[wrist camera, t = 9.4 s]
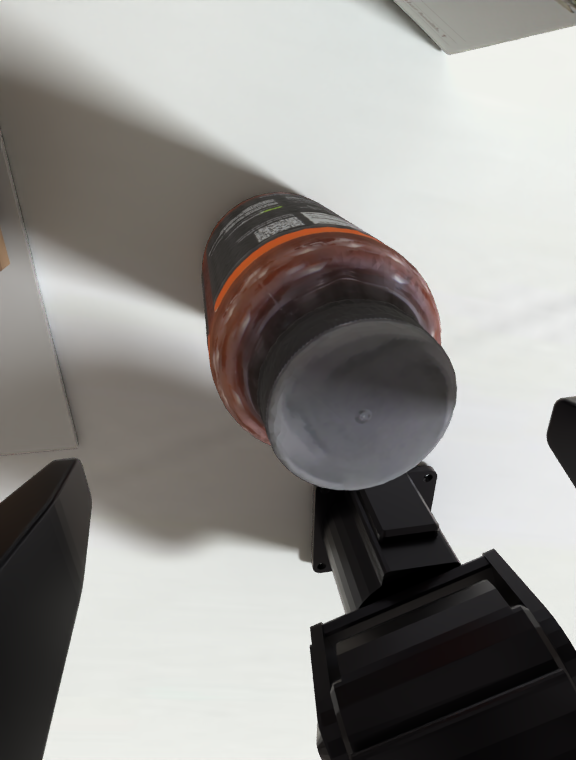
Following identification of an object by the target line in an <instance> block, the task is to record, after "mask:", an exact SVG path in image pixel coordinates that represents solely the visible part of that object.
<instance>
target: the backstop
mask: <svg viewBox="0 0 576 760" xmlns="http://www.w3.org/2000/svg"><path fill="white" fill-rule="evenodd" d="M0 228H1V231H2V235H3V239H4V242H5V246H6V250H7V254H8V257H9V261H10V264H9V265H8V266H7V267H6V268H4V269H3V270H2V271H1V272H0V456H2V455H13V454H23V453H34V452H44V451H54V450H65V449H75V448H77V447H78V441H77V437H76V433H75V429H74V425H73V421H72V416H71V412H70V408H69V404H68V400H67V396H66V392H65V388H64V384H63V380H62V376H61V372H60V368H59V364H58V360H57V356H56V352H55V348H54V344H53V340H52V336H51V332H50V328H49V324H48V320H47V315H46V311H45V307H44V303H43V299H42V295H41V291H40V287H39V283H38V279H37V275H36V271H35V267H34V263H33V259H32V255H31V251H30V247H29V243H28V239H27V235H26V231H25V227H24V223H23V219H22V214H21V210H20V206H19V202H18V198H17V194H16V190H15V186H14V182H13V178H12V174H11V170H10V166H9V162H8V158H7V154H6V150H5V146H4V142H3V138H2V134H1V130H0Z"/></svg>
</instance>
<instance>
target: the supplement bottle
mask: <svg viewBox="0 0 576 760" xmlns="http://www.w3.org/2000/svg"><path fill="white" fill-rule="evenodd" d="M202 287H203V297H204V308H205V319H206V331H207V332H206V334H207V345H208V351H209V359H210V367H211V372H212V377H213V380H214V383H215V386H216V388H217V391H218V393H219V395H220V398H221V400H222V401H223V403H224V405H225V407H226V409H227V410H228V411H229V413H230V414H231V415H232V417H233V418H234V419H235V420H236V421H237V422H238V423H239V424H240V425H241V426H242V428H243V429H244V430H246V431H248V432H249V433H250V434H251V435H253V436H254V437H255V438H257V439H259V440H260V441H262V442H264V443H267V444H269V445H270V446H272V448H273V451H274V453H275V454H276V456H277V458H278V459H279V460H280V461H281V462H282V464H283V465H284V466H285V467H286V468H287V469H288V470H290V471H291V472H292V473H293V474H295V475H296V476H297V477H299V478H300V479H302V480H305V481H307V482H308V483H311V484H314V485H316V486H319V487H323V488H329V489H334V490H359V489H365V488H369V487H373V486H377V485H381V484H384V483H386V482H388V481H390V480H393V479H395V478H397V477H399V476H401V475H403V474H404V473H406V472H407V471H409V470H410V469H412V468H414V467H415V466H416V465H418V464H419V463H420V462H421V461H422V460H423V459H424V458H425V457H426V456H427V455H428V454H429V453H430V452H431V451H432V450H433V449H434V447H435V446H436V445H437V443H438V442H439V441H440V439H441V438H442V437H443V435H444V433H445V431H446V429H447V427H448V425H449V423H450V420H451V417H452V414H453V410H454V407H455V404H456V392H457V386H456V377H455V372H454V369H453V366H452V364H451V362H450V359H449V357H448V356H447V354H446V353H445V351H444V349H443V348H442V346H441V327H440V318H439V313H438V310H437V307H436V304H435V301H434V298H433V296H432V294H431V291H430V289H429V287H428V285H427V283H426V282H425V280H424V279H423V278H422V276H421V275H420V273H419V272H418V271H417V269H416V268H415V267H414V266H413V265H411V264H410V263H409V262H408V261H407V260H406V259H405V258H404V257H403V256H401V255H400V254H399V253H397V252H396V251H395V250H393V249H392V248H390V247H388V246H387V245H385V244H384V243H382V242H381V241H379V240H378V239H376V238H374V237H373V236H371V235H370V234H368V233H366V232H364V231H363V230H361V229H360V228H358V227H357V226H355V225H353V224H352V223H350V222H348V221H347V220H345V219H343V218H342V217H340V216H339V215H337V214H335V213H334V212H332V211H331V210H329V209H327V208H326V207H324V206H323V205H321V204H319V203H317V202H315V201H313V200H311V199H309V198H306V197H304V196H300V195H296V194H291V193H283V192H275V193H267V194H262V195H258V196H255V197H253V198H250V199H247V200H245V201H243V202H241V203H240V204H238V205H237V206H236V207H234V208H233V209H231V210H230V211H229V212H228V213H227V214H226V215H225V216H224V217H223V218H222V219H221V220H220V221H219V222H218V224H217V225H216V227H215V228H214V230H213V232H212V234H211V236H210V238H209V240H208V242H207V245H206V248H205V252H204V256H203V263H202Z"/></svg>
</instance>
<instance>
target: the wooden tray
mask: <svg viewBox="0 0 576 760" xmlns="http://www.w3.org/2000/svg"><path fill="white" fill-rule="evenodd" d="M9 264H10V261H9V257H8V254H7V250H6V246H5V242H4V239H3V235H2V231H1V228H0V272H1V271H2V270H3V269H4V268H6V267H7V266H8V265H9Z"/></svg>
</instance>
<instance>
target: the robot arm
mask: <svg viewBox="0 0 576 760" xmlns="http://www.w3.org/2000/svg"><path fill="white" fill-rule="evenodd" d="M547 442H548V445H549V447H550V448H551V450H552V451H553V453H554V455H555V456H556V458H557V459H558V461H559V463H560V464H561V466H562V467H563V469H564V470H565V472H566V474H567V475H568V477H569V478H570V480H571V481H572V483H573V485H574V486H575V488H576V396H574V397H566V398H560V399H559V400H557V401H556V403H555V404H554V407H553V411H552V414H551V418H550V422H549V426H548V430H547ZM428 474H429V475H428ZM426 475H428V476H426ZM424 476H426V477H424ZM436 480H437V474H436V472H435V471H434V469H433V468H432V467H431V466H419V467H414V468H412V469H410V470H409V471H407V472H406V473H404V474H403V475H401V476H399V477H397V478H395V479H393V480H390V481H388V482H386V483H384V484H381V485H377V486H373V487H369V488H365V489H359V490H334V489H329V488H324V489H321V488H322V487H319V486H316V485H314V495H313V526H312V557H311V563H312V567H313V570H314V571H315V572H317V573H323V572H330V571H333V575H334V578H335V581H336V584H337V588H338V591H339V594H340V597H341V601H342V604H343V607H344V610H345V615H343V616H340V617H338V618H336V619H333V620H331V621H329V622H326V623H324V624H323V623H322V622H321V623H318V624H316V625H314V626H311V627H310V631H311V640H312V645H310V654H311V663H312V673H313V682H314V692H315V701H316V711H317V720H318V723H317V748H318V752H319V755H320V757H321V759H322V760H576V650H575V649H574V647H573V645H572V644H571V642H570V641H569V639H568V637H567V636H566V634H565V633H564V631H563V630H562V628H561V627H560V626H559V624H558V623H557V621H556V620H555V619H554V617H553V616H552V615H551V613H550V612H549V611H548V610H547V609H546V607H545V606H544V605H543V604H542V603H541V602H540V600H539V599H538V598H537V597H536V596H535V595H534V594H533V593H532V591H531V590H530V589H529V588H528V587H527V586H526V585H525V583H524V582H523V581H522V580H521V579H520V578H519V577H518V575H517V574H516V573H515V572H514V571H513V570H512V569H511V567H510V566H509V565H508V564H507V563H506V562H505V561H504V560H503V558H502V557H501V556H500V555H499V554H498V553H497V552H496V550H495V549H492V550H490V551H487V552H485V553H483V554H482V556H481V557H479V558H476V559H474V560H472V561H469V562H467V563H465V564H462V565H461V563H460V562H459V560H458V558H457V557H456V555H455V553H454V552H453V550H452V548H451V547H450V545H449V543H448V542H447V540H446V538H445V537H444V535H443V533H442V532H441V530H440V528H439V524H438V523H437V521H436V519H435V518H434V516H433V514H432V513H431V507H432V502H433V496H434V491H435V485H436ZM91 510H92V499H91V494H90V490H89V487H88V483H87V480H86V476H85V473H84V469H83V466H82V463H81V461H80V460H79V459H77V458H68V459H60V460H54V461H52V462H51V463H49V464H48V465H47V466H46V467H44V468H43V469H42V470H41V471H39V472H38V473H37V474H36V475H34V476H33V477H32V478H31V479H29V480H28V481H27V482H26V483H24V484H23V485H22V486H21V487H19V488H18V489H17V490H16V491H14V492H13V493H12V494H11V495H9V496H8V497H7V498H6V499H4V500H3V501H2V502H1V503H0V760H42V759H43V755H44V750H45V746H46V742H47V738H48V733H49V729H50V725H51V721H52V716H53V712H54V708H55V704H56V700H57V695H58V691H59V687H60V683H61V678H62V674H63V670H64V666H65V661H66V657H67V653H68V649H69V645H70V640H71V636H72V632H73V628H74V623H75V619H76V615H77V611H78V606H79V602H80V597H81V593H82V588H83V580H84V573H85V564H86V555H87V546H88V537H89V528H90V519H91ZM321 563H322V564H321Z"/></svg>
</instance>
